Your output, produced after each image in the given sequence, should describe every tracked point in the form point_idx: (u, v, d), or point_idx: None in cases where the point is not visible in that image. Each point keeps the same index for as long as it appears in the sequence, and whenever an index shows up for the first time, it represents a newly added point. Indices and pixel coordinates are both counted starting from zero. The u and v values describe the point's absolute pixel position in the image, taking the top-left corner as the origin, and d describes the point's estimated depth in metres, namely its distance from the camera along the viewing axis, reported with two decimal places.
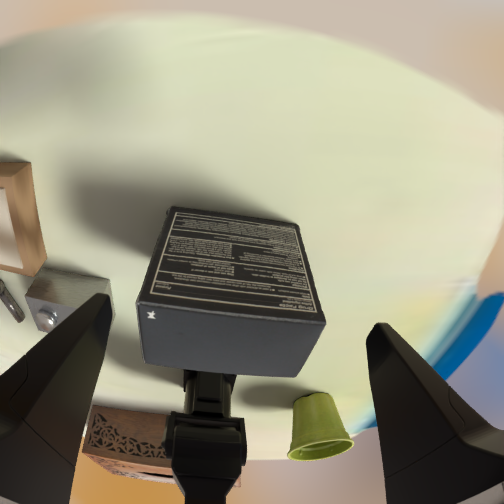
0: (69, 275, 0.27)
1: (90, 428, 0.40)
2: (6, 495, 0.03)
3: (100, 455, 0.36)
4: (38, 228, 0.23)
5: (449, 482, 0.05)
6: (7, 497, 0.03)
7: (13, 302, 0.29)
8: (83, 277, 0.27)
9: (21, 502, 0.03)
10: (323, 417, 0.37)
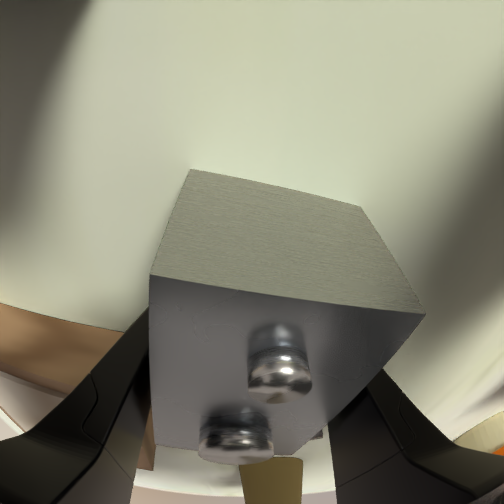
0: None
1: None
2: None
3: None
4: (58, 325, 0.11)
5: (394, 501, 0.05)
6: None
7: None
8: None
9: None
10: None
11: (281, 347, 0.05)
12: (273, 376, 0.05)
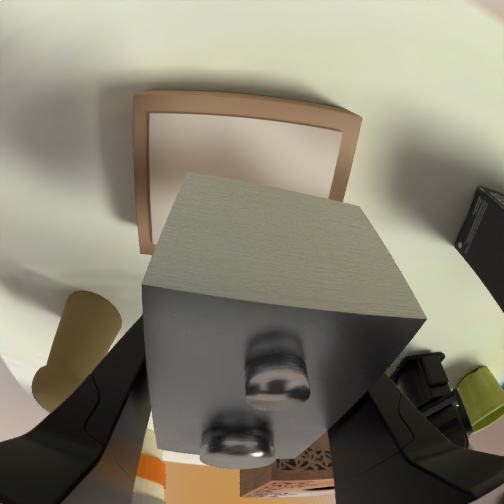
0: None
1: None
2: None
3: (297, 479, 0.31)
4: None
5: (393, 502, 0.05)
6: None
7: None
8: None
9: None
10: (493, 386, 0.32)
11: (278, 354, 0.05)
12: (269, 384, 0.05)
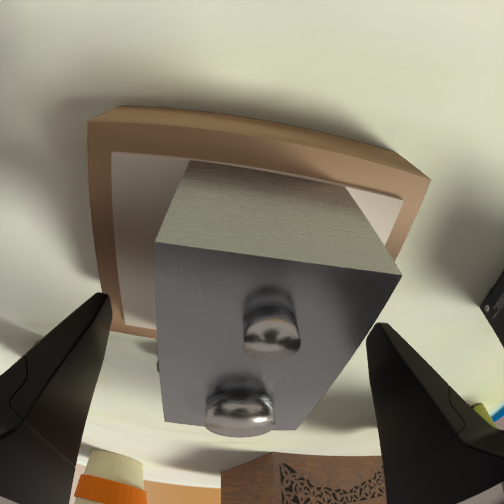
0: None
1: (279, 485, 0.29)
2: (6, 495, 0.03)
3: None
4: None
5: (449, 482, 0.05)
6: (7, 497, 0.03)
7: None
8: None
9: (21, 502, 0.03)
10: None
11: (270, 307, 0.06)
12: (263, 331, 0.06)
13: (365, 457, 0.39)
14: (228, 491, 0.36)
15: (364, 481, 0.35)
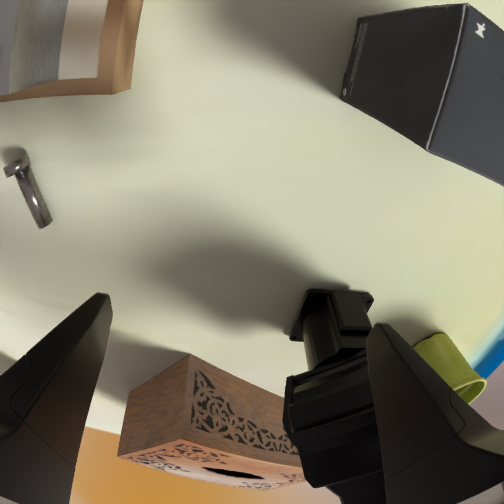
0: None
1: (191, 395, 0.27)
2: (6, 495, 0.03)
3: (213, 446, 0.24)
4: (135, 33, 0.14)
5: (449, 482, 0.05)
6: (7, 497, 0.03)
7: (38, 192, 0.19)
8: None
9: (21, 502, 0.03)
10: (455, 358, 0.27)
11: None
12: None
13: None
14: (131, 413, 0.32)
15: None
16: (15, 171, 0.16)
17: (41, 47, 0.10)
